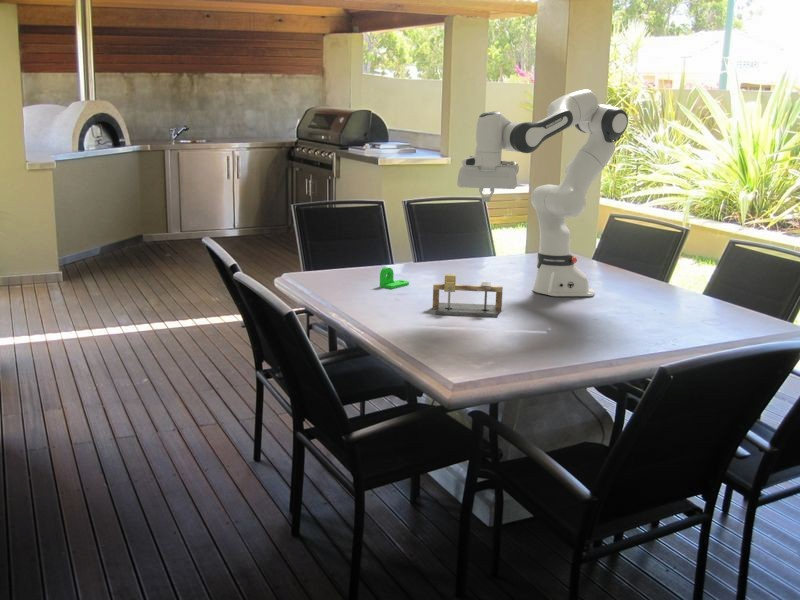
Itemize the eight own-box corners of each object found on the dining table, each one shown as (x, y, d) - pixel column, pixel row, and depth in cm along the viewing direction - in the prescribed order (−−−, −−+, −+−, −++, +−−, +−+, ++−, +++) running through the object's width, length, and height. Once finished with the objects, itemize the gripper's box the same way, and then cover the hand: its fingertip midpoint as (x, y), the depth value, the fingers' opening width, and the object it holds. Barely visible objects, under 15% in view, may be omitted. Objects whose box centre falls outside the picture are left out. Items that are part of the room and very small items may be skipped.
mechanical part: (392, 291, 311) (392, 270, 310) (379, 289, 315) (380, 268, 313) (412, 287, 320) (412, 266, 319) (399, 284, 324) (400, 264, 322)
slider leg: (454, 303, 286) (455, 274, 283) (454, 308, 278) (455, 278, 276) (444, 302, 286) (445, 273, 284) (443, 307, 279) (444, 277, 277)
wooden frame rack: (501, 310, 284) (502, 282, 282) (501, 314, 277) (503, 286, 275) (432, 307, 286) (433, 280, 284) (431, 311, 279) (432, 283, 277)
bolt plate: (496, 308, 286) (496, 304, 286) (497, 317, 274) (497, 313, 273) (437, 305, 288) (437, 302, 288) (435, 314, 275) (435, 310, 275)
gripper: (518, 161, 288) (516, 201, 291) (458, 159, 289) (456, 199, 292) (519, 161, 282) (517, 203, 284) (458, 160, 283) (456, 201, 286)
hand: (486, 201), depth 288 cm, fingers closed
